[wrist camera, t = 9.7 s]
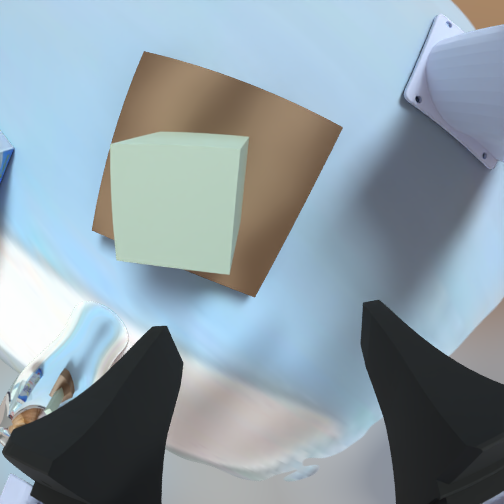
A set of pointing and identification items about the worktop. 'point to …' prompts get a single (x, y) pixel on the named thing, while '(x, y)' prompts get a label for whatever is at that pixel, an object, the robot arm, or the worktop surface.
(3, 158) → the medicine box
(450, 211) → the worktop surface
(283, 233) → the walnut base
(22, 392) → the beer glass
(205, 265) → the sage block
